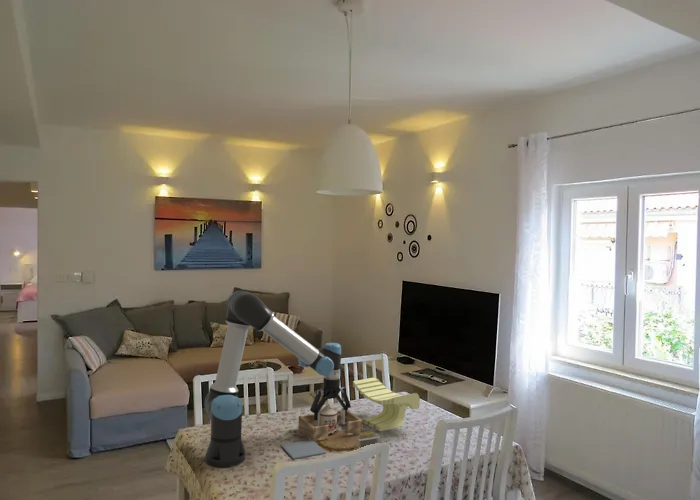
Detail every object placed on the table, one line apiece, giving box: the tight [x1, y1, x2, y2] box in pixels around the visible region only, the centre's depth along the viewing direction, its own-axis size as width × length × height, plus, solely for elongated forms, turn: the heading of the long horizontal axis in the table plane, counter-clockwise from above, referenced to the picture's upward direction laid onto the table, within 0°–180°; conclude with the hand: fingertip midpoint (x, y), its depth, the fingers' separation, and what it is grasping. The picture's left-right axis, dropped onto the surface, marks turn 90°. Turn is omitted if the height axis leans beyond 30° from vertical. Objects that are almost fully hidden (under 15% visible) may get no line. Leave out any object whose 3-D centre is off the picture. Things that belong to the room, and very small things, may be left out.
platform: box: [357, 430, 381, 449], centre depth 215 cm, size 12×18×7 cm, turn 115°
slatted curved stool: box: [352, 377, 421, 432], centre depth 243 cm, size 30×16×18 cm, turn 37°
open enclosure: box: [297, 409, 364, 443], centre depth 231 cm, size 24×16×6 cm
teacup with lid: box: [319, 404, 343, 432], centre depth 231 cm, size 12×9×12 cm
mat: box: [280, 439, 327, 461], centre depth 210 cm, size 14×14×1 cm
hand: (330, 425), depth 231 cm, fingers closed on teacup with lid, 12 cm apart
